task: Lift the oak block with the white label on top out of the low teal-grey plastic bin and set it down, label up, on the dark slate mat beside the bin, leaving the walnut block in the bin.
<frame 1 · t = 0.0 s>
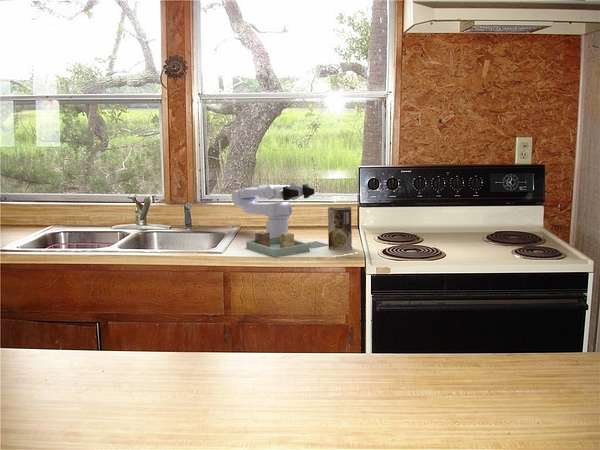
hand: (305, 192, 252), 22 cm above the countertop, tool horizontal, fingers open, 7 cm apart
walnut block: (262, 247, 252), point 1 cm above the countertop, touching bin
mat: (313, 246, 257), on the countertop
oak block: (286, 249, 249), point 1 cm above the countertop, touching bin
bin: (277, 250, 249), on the countertop
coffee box: (339, 249, 252), on the countertop
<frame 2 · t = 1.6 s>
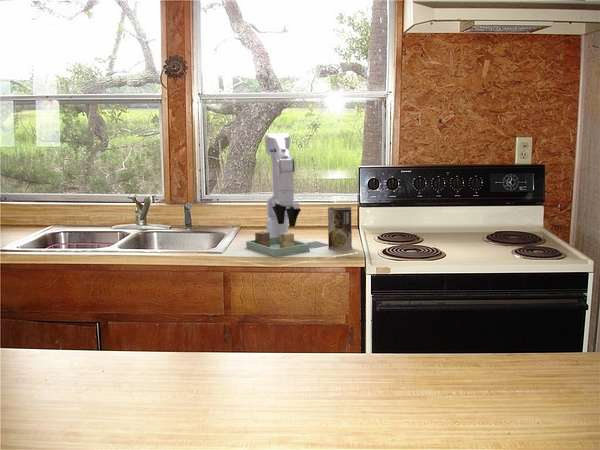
hand: (286, 225, 248), 10 cm above the countertop, tool pointing down, fingers open, 7 cm apart
nothing on the countertop moved.
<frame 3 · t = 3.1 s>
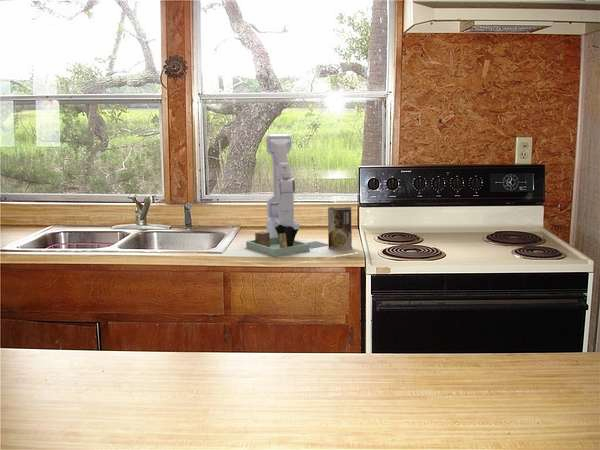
hand: (286, 245, 249), 2 cm above the countertop, tool pointing down, fingers closed on oak block, 4 cm apart
oak block: (286, 249, 249), point 1 cm above the countertop, touching bin, gripper
everything else where it was.
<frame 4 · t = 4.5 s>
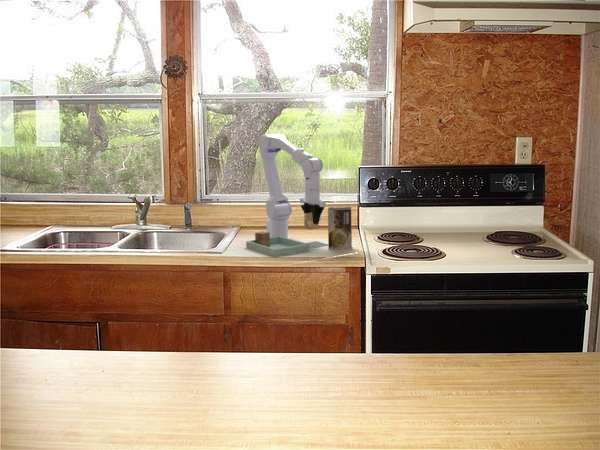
hand: (312, 223, 255), 9 cm above the countertop, tool pointing down, fingers closed on oak block, 4 cm apart
oak block: (311, 228, 255), point 7 cm above the countertop, touching gripper
everything else where it was.
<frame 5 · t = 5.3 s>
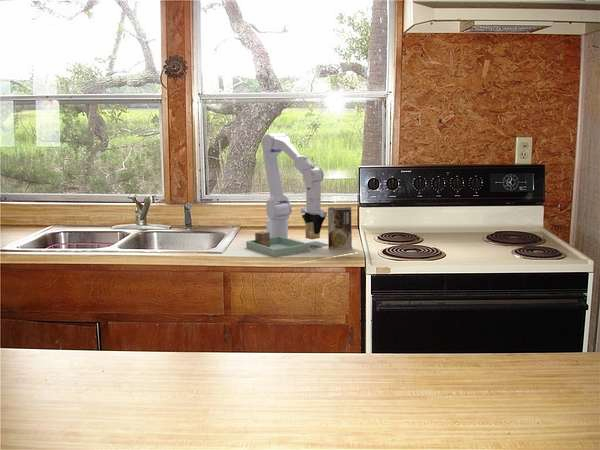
hand: (313, 232, 256), 5 cm above the countertop, tool pointing down, fingers closed on oak block, 4 cm apart
oak block: (312, 238, 256), point 3 cm above the countertop, touching gripper
everything else where it was.
when the fingers open (4 cm above the countertop, at t = 6.1 s): oak block stays where it is, resting on mat.
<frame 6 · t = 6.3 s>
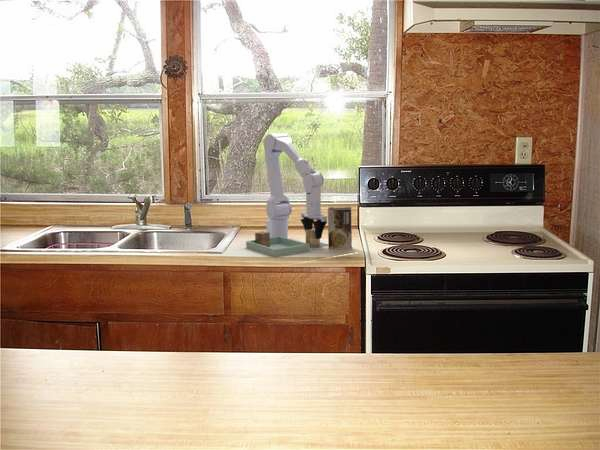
hand: (313, 237, 256), 4 cm above the countertop, tool pointing down, fingers open, 6 cm apart
oak block: (312, 244, 257), point 1 cm above the countertop, touching mat
everything else where it was.
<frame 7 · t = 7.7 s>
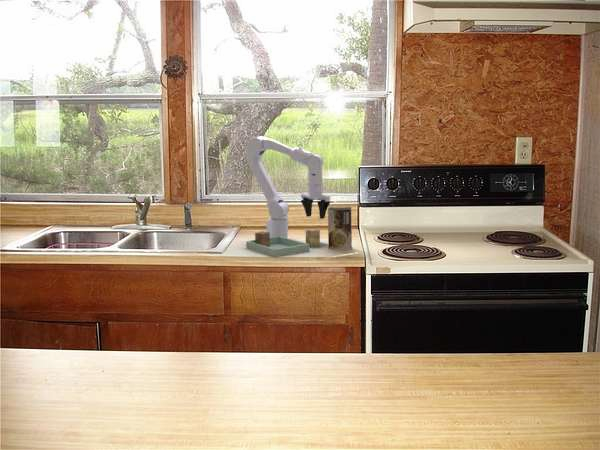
hand: (315, 217, 266), 10 cm above the countertop, tool pointing down, fingers open, 7 cm apart
nothing on the countertop moved.
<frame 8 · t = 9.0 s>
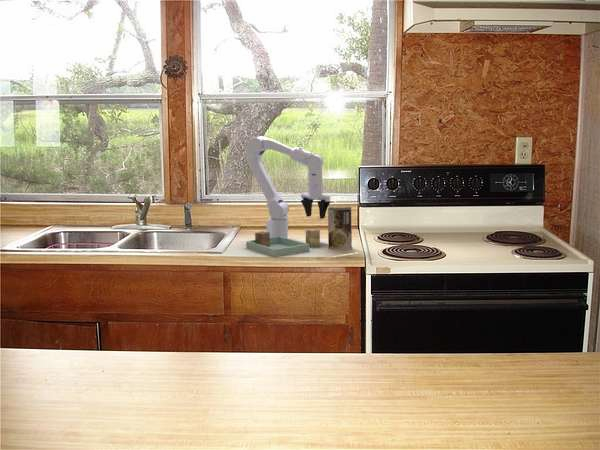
hand: (315, 217, 266), 10 cm above the countertop, tool pointing down, fingers open, 7 cm apart
nothing on the countertop moved.
at the end: oak block inside the target area on the mat (0.5 cm from its centre), point 0.6 cm above the mat's base; oak block tilted 0°; the gripper is holding nothing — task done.
